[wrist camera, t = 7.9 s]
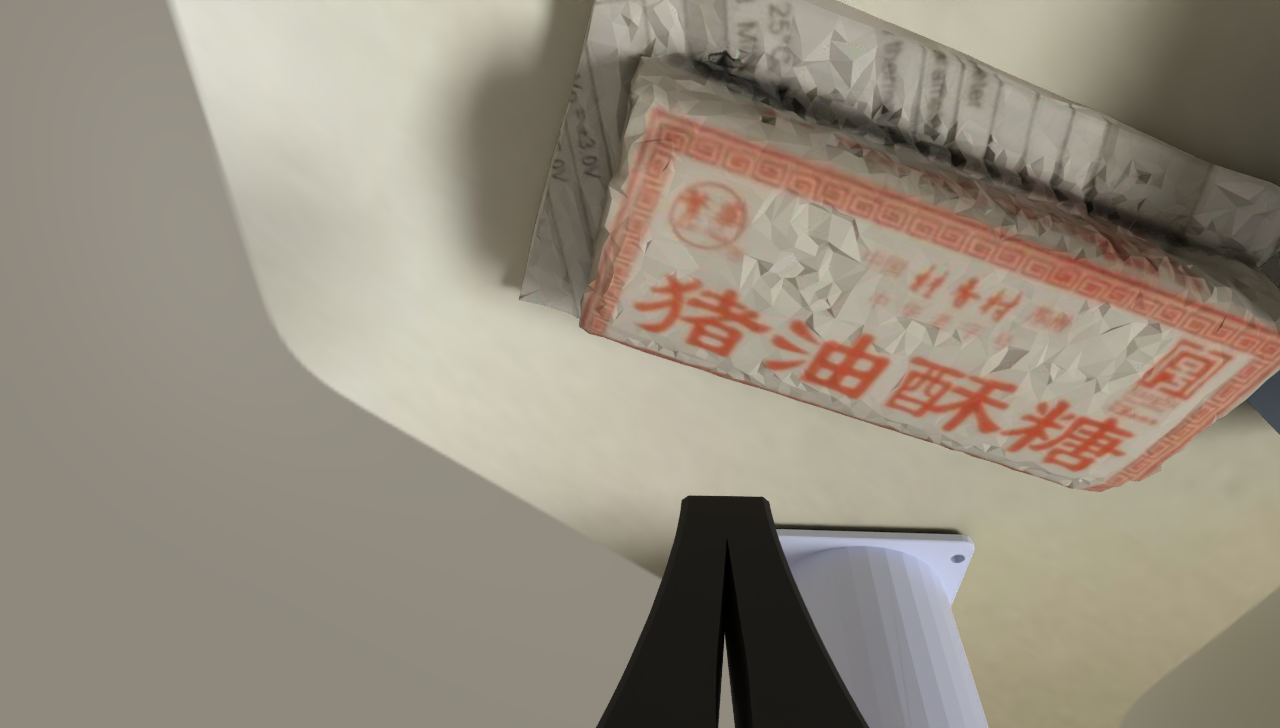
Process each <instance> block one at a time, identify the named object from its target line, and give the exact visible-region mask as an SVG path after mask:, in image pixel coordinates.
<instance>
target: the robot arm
mask: <svg viewBox="0 0 1280 728" xmlns="http://www.w3.org/2000/svg"><path fill="white" fill-rule="evenodd" d="M974 549H975V546H974V544H973V541H972V539H971V538H970V537H968V536H966V535H959V534H926V533H893V532H860V531H826V530H793V529H776V528H775V524H774V521H773V517H772V513H771V509H770V504H769V501H767V500H766V499H765V498H764V497H743V496H687V497H686V498H684V499H683V500H682V503H681V511H680V517H679V522H678V527H677V531H676V536H675V539H674V543H673V547H672V550H671V554H670V557H669V560H668V563H667V567H666V570H665V573H664V576H663V578H662V581H661V584H660V587H659V589H658V592H657V595H656V598H655V600H654V603H653V606H652V609H651V611H650V614H649V616H648V619H647V621H646V624H645V626H644V628H643V631H642V633H641V635H640V637H639V640H638V642H637V644H636V647H635V649H634V651H633V654H632V656H631V658H630V661H629V663H628V665H627V667H626V669H625V671H624V673H623V676H622V678H621V680H620V682H619V684H618V686H617V688H616V690H615V692H614V694H613V696H612V698H611V700H610V702H609V704H608V706H607V708H606V710H605V712H604V714H603V716H602V717H601V719H600V721H599V723H598V726H597V727H596V728H718V722H719V708H720V693H721V679H722V664H723V650H724V636H725V639H726V649H727V658H728V667H729V676H730V685H731V695H732V704H733V713H734V722H735V728H989V727H988V724H987V721H986V718H985V714H984V711H983V708H982V705H981V702H980V699H979V695H978V692H977V689H976V686H975V683H974V680H973V676H972V673H971V670H970V667H969V664H968V661H967V658H966V654H965V651H964V648H963V645H962V642H961V639H960V635H959V632H958V629H957V626H956V623H955V620H954V616H953V613H952V610H951V605H952V603H953V600H954V598H955V595H956V593H957V591H958V588H959V586H960V583H961V581H962V579H963V576H964V574H965V571H966V569H967V567H968V564H969V562H970V559H971V557H972V555H973V552H974Z"/></svg>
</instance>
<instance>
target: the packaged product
mask: <svg viewBox="0 0 1280 728" xmlns="http://www.w3.org/2000/svg"><path fill="white" fill-rule="evenodd" d="M1279 250H1280V187H1279V186H1277V185H1275V184H1273V183H1271V182H1268V181H1265V180H1262V179H1258V178H1255V177H1252V176H1249V175H1246V174H1243V173H1240V172H1236V171H1233V170H1230V169H1227V168H1224V167H1221V166H1218V165H1215V164H1211V163H1208V162H1206V161H1204V160H1202V159H1200V158H1198V157H1195V156H1193V155H1191V154H1189V153H1187V152H1185V151H1182V150H1180V149H1178V148H1176V147H1174V146H1172V145H1169V144H1167V143H1165V142H1163V141H1161V140H1159V139H1156V138H1154V137H1152V136H1150V135H1148V134H1146V133H1143V132H1141V131H1139V130H1137V129H1135V128H1133V127H1130V126H1128V125H1126V124H1124V123H1122V122H1120V121H1117V120H1115V119H1113V118H1111V117H1109V116H1107V115H1104V114H1102V113H1100V112H1098V111H1096V110H1093V109H1091V108H1088V107H1086V106H1083V105H1081V104H1077V103H1074V102H1072V101H1070V100H1067V99H1065V98H1063V97H1060V96H1058V95H1056V94H1054V93H1051V92H1049V91H1047V90H1045V89H1042V88H1040V87H1038V86H1035V85H1033V84H1031V83H1029V82H1026V81H1024V80H1022V79H1019V78H1017V77H1015V76H1013V75H1010V74H1008V73H1006V72H1003V71H1001V70H999V69H997V68H994V67H992V66H990V65H988V64H986V63H984V62H981V61H979V60H977V59H975V58H973V57H971V56H969V55H966V54H964V53H962V52H959V51H957V50H954V49H952V48H950V47H947V46H945V45H942V44H940V43H938V42H935V41H933V40H930V39H928V38H926V37H923V36H921V35H918V34H916V33H914V32H911V31H909V30H906V29H904V28H902V27H899V26H897V25H895V24H892V23H889V22H886V21H884V20H881V19H879V18H877V17H874V16H872V15H870V14H868V13H865V12H863V11H861V10H858V9H856V8H853V7H851V6H848V5H846V4H843V3H841V2H838V1H836V0H594V1H593V5H592V9H591V13H590V18H589V22H588V26H587V30H586V34H585V39H584V43H583V47H582V51H581V56H580V60H579V64H578V68H577V72H576V77H575V81H574V85H573V89H572V93H571V97H570V100H569V103H568V106H567V109H566V113H565V116H564V119H563V122H562V126H561V129H560V132H559V135H558V139H557V142H556V145H555V149H554V153H553V157H552V161H551V164H550V168H549V172H548V176H547V180H546V184H545V188H544V192H543V196H542V199H541V203H540V207H539V211H538V215H537V219H536V223H535V228H534V233H533V238H532V242H531V247H530V252H529V257H528V261H527V266H526V271H525V275H524V280H523V284H522V289H521V293H520V297H519V300H522V301H527V302H532V303H537V304H541V305H544V306H548V307H551V308H554V309H558V310H561V311H564V312H568V313H571V314H573V315H574V316H576V317H577V318H579V319H580V321H579V327H580V328H582V329H584V330H585V331H586V332H587V333H589V334H593V335H597V336H601V337H605V338H607V339H610V340H613V341H615V342H618V343H621V344H624V345H626V346H629V347H632V348H634V349H637V350H640V351H643V352H646V353H649V354H652V355H655V356H659V357H662V358H665V359H668V360H671V361H674V362H677V363H680V364H684V365H687V366H691V367H694V368H698V369H701V370H704V371H707V372H710V373H712V374H715V375H717V376H720V377H723V378H726V379H730V380H733V381H737V382H740V383H743V384H747V385H750V386H754V387H757V388H761V389H764V390H767V391H771V392H774V393H777V394H780V395H783V396H786V397H789V398H792V399H795V400H798V401H801V402H804V403H808V404H811V405H814V406H818V407H821V408H824V409H827V410H830V411H833V412H837V413H840V414H843V415H846V416H849V417H852V418H855V419H858V420H862V421H865V422H868V423H871V424H874V425H877V426H880V427H883V428H887V429H890V430H894V431H897V432H899V433H902V434H905V435H908V436H912V437H915V438H918V439H922V440H925V441H928V442H932V443H935V444H939V445H941V446H944V447H946V448H949V449H951V450H957V451H962V452H964V453H966V454H968V455H971V456H973V457H977V458H981V459H984V460H987V461H991V462H994V463H997V464H1000V465H1003V466H1005V467H1007V468H1010V469H1013V470H1016V471H1020V472H1023V473H1026V474H1030V475H1033V476H1037V477H1040V478H1043V479H1046V480H1049V481H1052V482H1055V483H1058V484H1060V485H1063V486H1066V487H1068V488H1072V489H1081V490H1088V491H1097V492H1102V491H1104V490H1107V489H1109V488H1112V487H1118V486H1121V485H1123V484H1125V483H1126V482H1128V481H1141V480H1143V479H1145V478H1147V477H1149V476H1151V475H1153V474H1155V473H1157V472H1159V471H1161V465H1162V463H1163V462H1164V461H1165V460H1167V459H1168V458H1169V457H1171V456H1173V455H1174V454H1176V453H1178V452H1180V451H1181V450H1183V449H1184V448H1185V447H1186V446H1187V445H1188V444H1189V442H1190V441H1191V440H1192V439H1193V438H1194V437H1195V436H1196V435H1197V434H1198V433H1200V432H1202V431H1203V430H1205V429H1206V428H1208V427H1209V426H1211V425H1212V424H1213V423H1214V422H1215V421H1216V420H1217V419H1219V418H1222V417H1224V416H1226V415H1227V414H1228V413H1229V412H1230V411H1232V410H1233V409H1234V408H1236V407H1237V406H1238V405H1240V404H1241V403H1243V402H1244V401H1245V400H1246V399H1247V398H1248V397H1249V396H1251V395H1252V394H1253V393H1254V392H1255V391H1256V390H1257V389H1258V388H1259V387H1260V386H1261V385H1262V384H1263V383H1264V382H1265V381H1267V380H1268V379H1269V378H1270V377H1272V376H1273V375H1274V374H1275V373H1276V372H1278V371H1279V370H1280V291H1279V289H1278V288H1277V287H1276V285H1275V284H1274V283H1273V282H1272V281H1271V280H1270V279H1269V278H1268V277H1267V276H1266V275H1265V274H1264V273H1262V272H1261V271H1260V270H1258V269H1259V268H1260V267H1261V266H1262V265H1263V264H1264V263H1266V262H1267V261H1268V260H1269V259H1270V258H1271V257H1272V256H1274V255H1275V254H1276V253H1277V252H1278V251H1279Z"/></svg>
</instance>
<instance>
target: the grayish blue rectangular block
mask: <svg viewBox="0 0 1280 728" xmlns="http://www.w3.org/2000/svg"><path fill="white" fill-rule="evenodd" d="M1279 291H1280V289H1279ZM1246 400H1247V401H1248V402H1249V403H1250V404H1251V405H1252V406H1253V407H1254V408H1255V409H1256V410H1257V411H1258V412H1259V413H1260V414H1261V415H1262V417H1263V418H1264V419H1265V420H1266V421H1267V422H1268V423H1269V424H1270V425H1271V426H1272V427H1273V428H1274V429H1275V430H1276V431H1277V432H1278V433H1279V435H1280V370H1279V371H1278V372H1276V373H1275V374H1274V375H1273V376H1272V377H1270V378H1269V379H1268V380H1267V381H1265V382H1264V383H1263V384H1262V385H1261V386H1260V387H1259V388H1258V389H1257V390H1256V391H1255V392H1254V393H1253V394H1252V395H1251V396H1249V397H1248V398H1247V399H1246Z"/></svg>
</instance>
